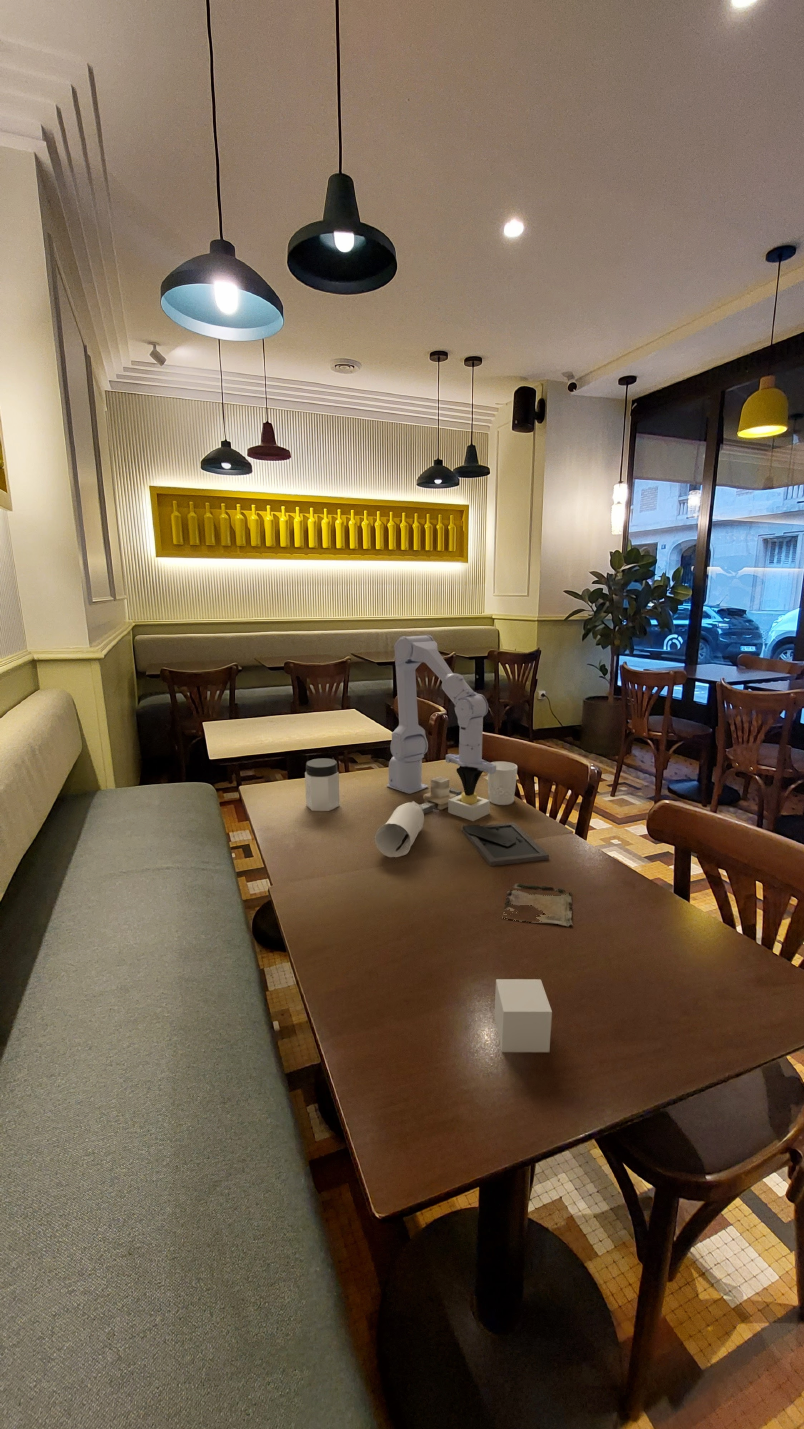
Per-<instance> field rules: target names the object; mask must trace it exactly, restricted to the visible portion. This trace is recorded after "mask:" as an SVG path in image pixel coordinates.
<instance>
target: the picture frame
mask: <svg viewBox="0 0 804 1429" xmlns="http://www.w3.org/2000/svg"><path fill="white" fill-rule="evenodd" d="M461 829H462V834H464V835H465V837H466V838H467V839H468V840H469V842H470V843H471V844H472V845H473V847H474V848H475V849H476V850H477V852H478V853H479V854H480V855H481V856H482V858H483V859H484V860H485V862H486V863H487V864H488V866H490V867H491V866H492V867H493V866H495V867H496V866H501V865H502V866H503V865H512V864H521V863H528V862H530V863H531V862H537V861H545V860H546V861H547V860H549V858H550V856H549V854H548V853H547V852H546V851H545V850H544V848H542V847H541V846H540V845H539V844H538V843H537V842H536V841H535V840H534V839H533V838H532V837H531V836H529V834H527V833H526V831H524V830H523V829H522V828H521V827H520V826H519V825H518V824H517V823H516V822H514V821H513V822H503V823H493V824H467V825H462V827H461Z"/></svg>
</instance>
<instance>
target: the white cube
mask: <svg viewBox="0 0 804 1429" xmlns="http://www.w3.org/2000/svg"><path fill="white" fill-rule="evenodd" d="M494 992H495V993H494V994H495V996H494V1022H495V1027H496V1031H497V1037H498V1041H499V1044H500V1050H501V1051H500V1052H501V1053H550V1046H551V1033H552V1032H551V1031H552V1018H553V1011H552V1007H551V1005H550V1002H549V999H548V996H547V992H546V991H545V988H544V985H543V982H542V979H535V978H533V979H529V978H528V979H525V978H524V979H523V978H521V979H520V978H515V979H514V978H513V979H512V978H511V979H510V978H509V979H507V978H506V979H505V978H504V979H503V978H501V979H500V978H499V979H498V978H497V979H495V991H494Z"/></svg>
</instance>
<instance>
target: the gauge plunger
mask: <svg viewBox="0 0 804 1429" xmlns="http://www.w3.org/2000/svg"><path fill="white" fill-rule="evenodd" d="M477 797H478V793H477V792H475V791H474V794H473V795H470V796H468V795H465V792H464V791H462V793H461V802H463V803H466V804H469V805H473V804H475V803H477Z"/></svg>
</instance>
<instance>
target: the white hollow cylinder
mask: <svg viewBox="0 0 804 1429" xmlns="http://www.w3.org/2000/svg"><path fill="white" fill-rule="evenodd" d="M420 805H421V804H419V803H417V802H415V801H414V800H412V801H411V802H406V803H402V804H400V805H398V806H397V807H396V808H395V809H394V810H393V812H392V814H391V815H390V817H389V819H388V820H387V822H386V823H384V824H383V825H381V826H379V827H378V828H377V831H376V832H375V836H374V838H373V839H374V841H375V842H374V843H375V846H376V847H377V848H378V851H379V852H381V854H383V855H384V856H386V857H388V858H394V857H395V858H399V857H402V856H405V855H407V854H408V853H409V851H410V850H411V847H412V845H413V844H414V843H415V840H416V838H417V837H418V834H419V833H420V832H421V831H422V829H423V828H424V823H425V814H423V811H422V807H421V806H420ZM406 835H407V838H406V840H405V841H404V843H403V840H404V838H405V836H406ZM402 843H403V844H402ZM400 846H401V847H400ZM399 847H400V848H399ZM398 848H399V849H398Z"/></svg>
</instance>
